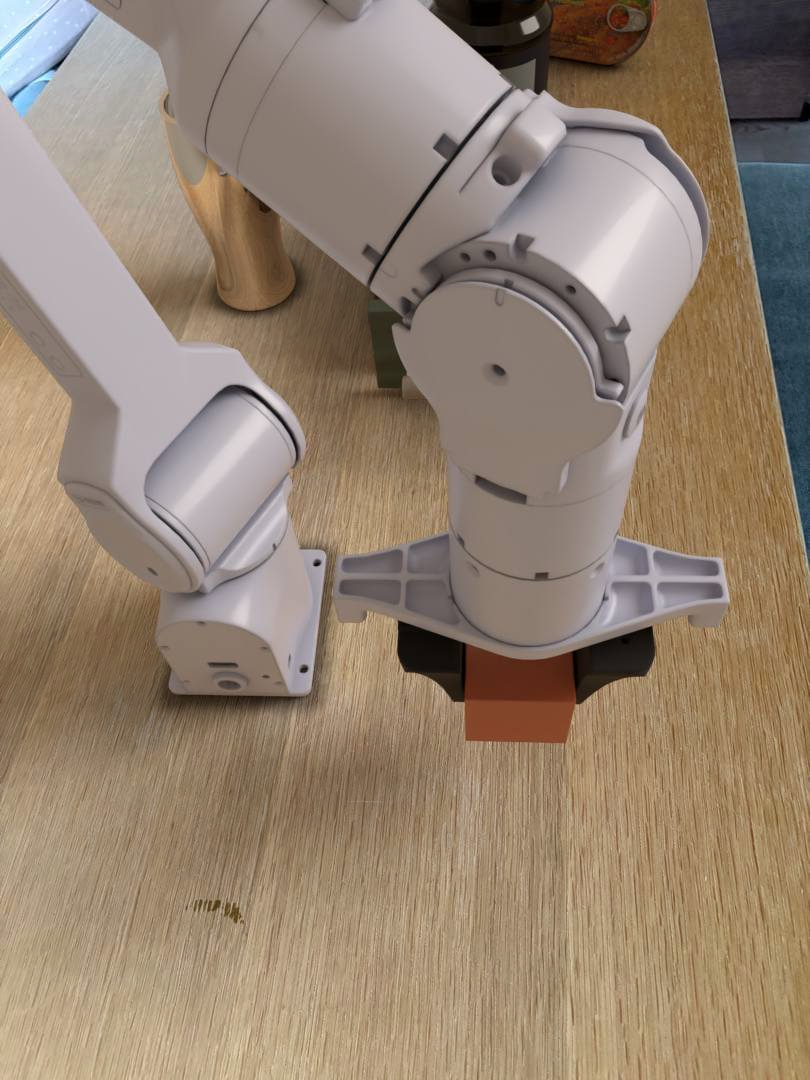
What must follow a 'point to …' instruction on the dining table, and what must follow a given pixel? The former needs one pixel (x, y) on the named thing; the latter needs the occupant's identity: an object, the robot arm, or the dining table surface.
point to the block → (518, 697)
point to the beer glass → (231, 225)
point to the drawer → (389, 350)
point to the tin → (600, 29)
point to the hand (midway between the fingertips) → (516, 683)
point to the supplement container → (505, 35)
